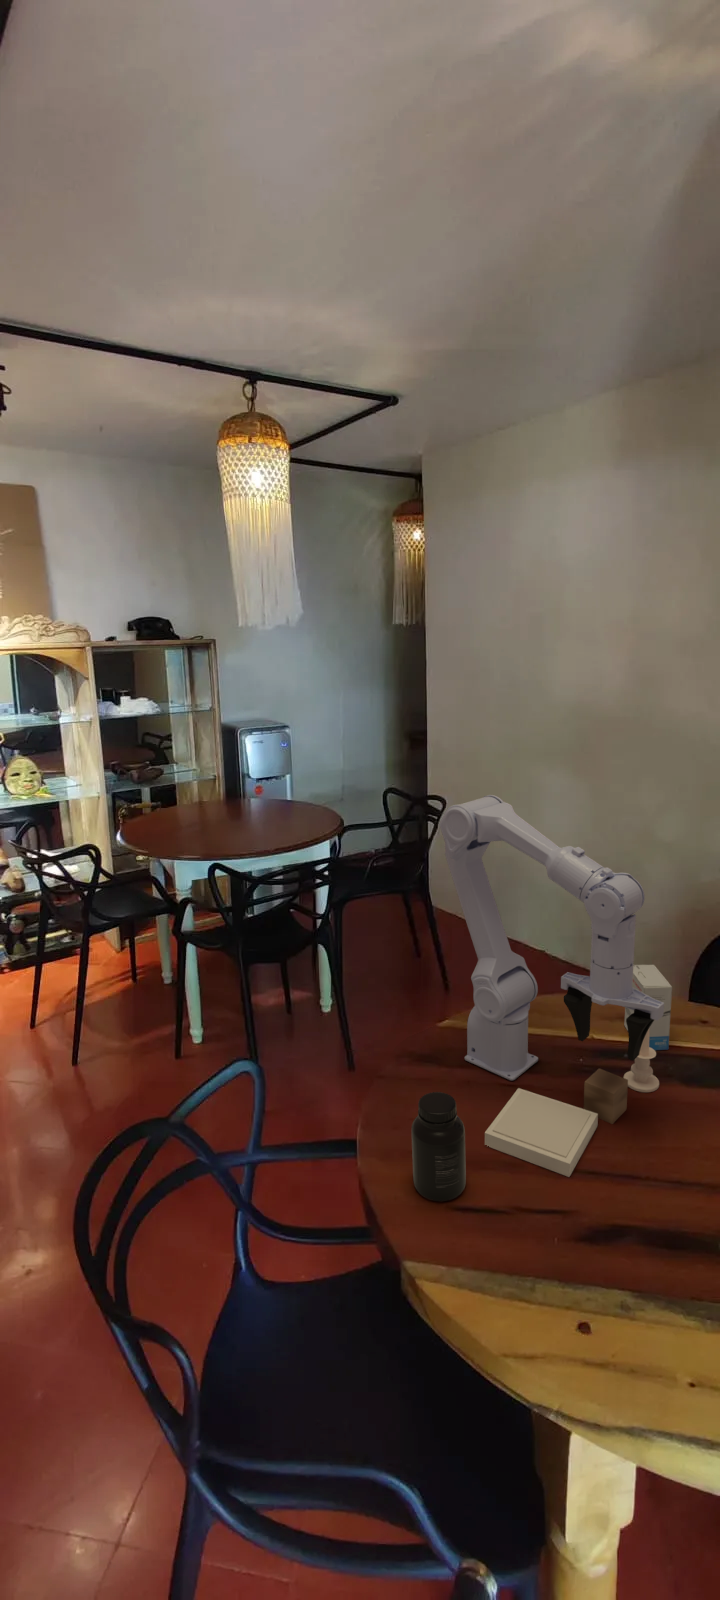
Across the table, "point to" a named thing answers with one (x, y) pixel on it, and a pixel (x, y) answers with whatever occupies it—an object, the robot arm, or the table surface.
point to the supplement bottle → (438, 1148)
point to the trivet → (542, 1131)
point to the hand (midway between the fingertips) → (608, 1047)
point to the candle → (643, 1070)
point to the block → (606, 1095)
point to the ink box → (659, 989)
